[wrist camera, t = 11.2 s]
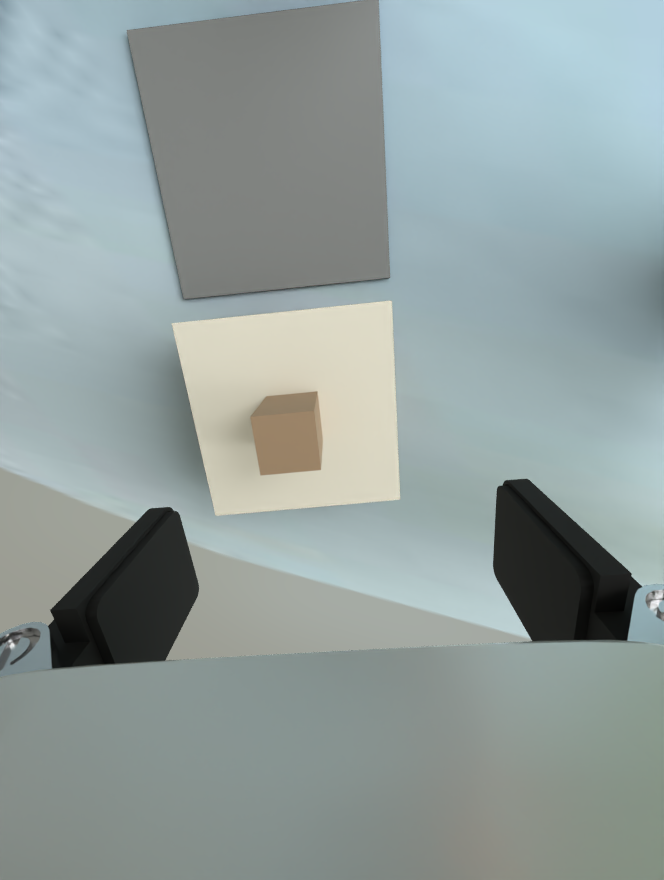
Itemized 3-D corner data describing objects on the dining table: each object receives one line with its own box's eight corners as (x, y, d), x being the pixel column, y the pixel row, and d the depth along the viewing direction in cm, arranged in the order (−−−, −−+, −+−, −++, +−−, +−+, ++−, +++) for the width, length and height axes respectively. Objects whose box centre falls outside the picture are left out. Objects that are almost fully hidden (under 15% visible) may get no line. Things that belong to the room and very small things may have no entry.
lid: (390, 300, 27) (408, 296, 21) (398, 495, 32) (415, 540, 26) (176, 323, 28) (128, 326, 21) (218, 511, 33) (190, 559, 26)
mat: (377, 4, 26) (378, -2, 26) (389, 278, 32) (389, 277, 32) (130, 35, 27) (126, 30, 26) (185, 299, 33) (183, 298, 32)
